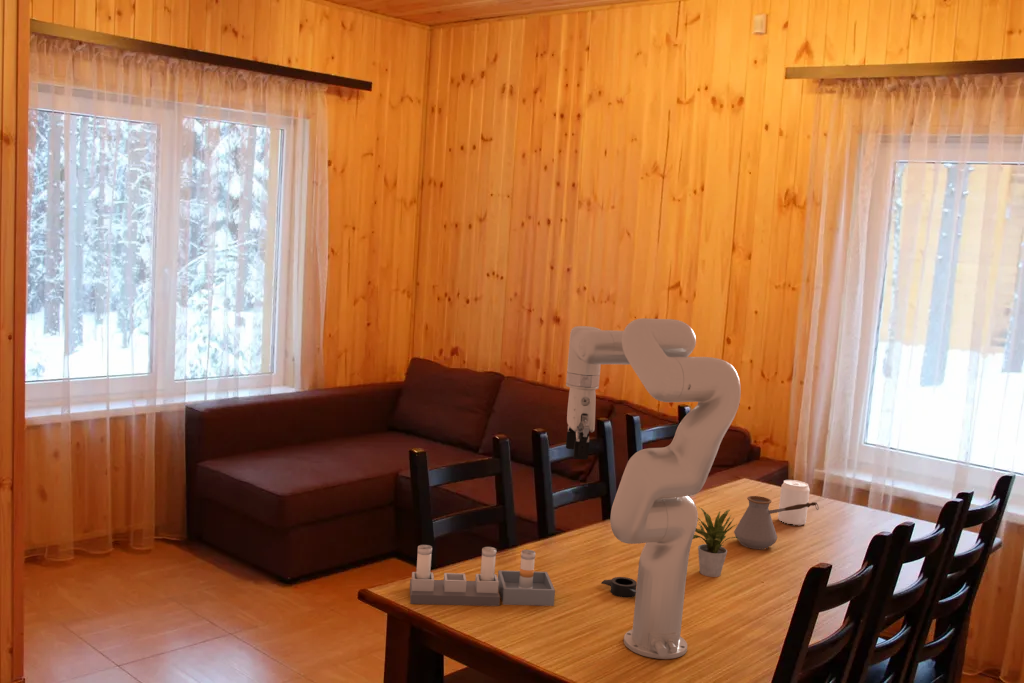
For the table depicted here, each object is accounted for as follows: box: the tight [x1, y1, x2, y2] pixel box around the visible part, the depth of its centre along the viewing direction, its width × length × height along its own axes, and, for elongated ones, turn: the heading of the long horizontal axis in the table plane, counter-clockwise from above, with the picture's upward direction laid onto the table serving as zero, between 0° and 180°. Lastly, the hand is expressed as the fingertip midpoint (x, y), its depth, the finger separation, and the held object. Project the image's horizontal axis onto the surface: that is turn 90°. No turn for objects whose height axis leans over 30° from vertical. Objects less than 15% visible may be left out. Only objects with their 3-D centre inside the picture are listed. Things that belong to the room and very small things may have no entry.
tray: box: [497, 569, 556, 607], centre depth 217 cm, size 11×11×4 cm
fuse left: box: [415, 544, 433, 579], centre depth 212 cm, size 3×3×9 cm
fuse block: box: [409, 571, 501, 607], centre depth 213 cm, size 9×19×4 cm, turn 97°
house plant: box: [693, 506, 739, 578], centre depth 242 cm, size 14×14×16 cm
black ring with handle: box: [600, 576, 637, 599], centre depth 224 cm, size 8×10×3 cm
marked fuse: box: [519, 549, 536, 589], centre depth 217 cm, size 3×3×9 cm
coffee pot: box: [733, 495, 819, 550], centre depth 264 cm, size 21×12×15 cm, turn 61°
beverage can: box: [777, 479, 811, 526], centre depth 291 cm, size 8×8×12 cm
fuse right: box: [480, 546, 497, 581], centre depth 214 cm, size 3×3×9 cm
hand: (576, 453), depth 225 cm, fingers open, 9 cm apart
